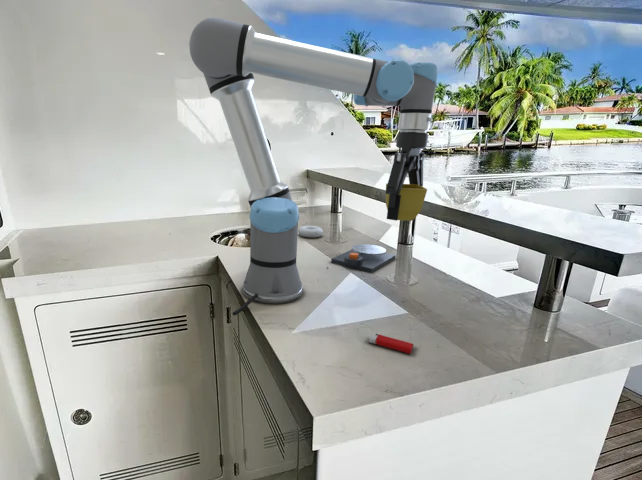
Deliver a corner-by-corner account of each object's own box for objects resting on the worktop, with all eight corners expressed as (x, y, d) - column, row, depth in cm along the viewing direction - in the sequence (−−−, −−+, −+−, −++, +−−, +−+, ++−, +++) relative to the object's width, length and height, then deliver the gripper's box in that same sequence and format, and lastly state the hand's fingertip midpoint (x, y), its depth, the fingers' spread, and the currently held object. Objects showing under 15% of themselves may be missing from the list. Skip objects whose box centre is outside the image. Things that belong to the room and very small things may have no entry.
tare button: (355, 260, 116) (355, 255, 116) (347, 258, 118) (348, 253, 117) (359, 258, 118) (359, 253, 117) (351, 256, 120) (352, 252, 119)
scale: (369, 274, 113) (370, 264, 112) (328, 263, 121) (329, 254, 120) (395, 259, 127) (396, 250, 126) (357, 250, 135) (358, 242, 134)
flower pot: (422, 223, 100) (428, 188, 97) (389, 222, 100) (393, 187, 97) (412, 216, 108) (417, 184, 105) (381, 215, 108) (385, 183, 105)
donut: (308, 231, 160) (292, 235, 153) (308, 223, 159) (293, 226, 152) (327, 236, 154) (312, 240, 147) (328, 227, 153) (313, 231, 146)
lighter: (410, 349, 71) (368, 337, 75) (409, 355, 71) (368, 343, 75) (413, 342, 73) (372, 331, 77) (412, 348, 74) (372, 337, 77)
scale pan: (377, 257, 118) (377, 256, 118) (345, 250, 125) (345, 248, 124) (391, 250, 126) (391, 248, 126) (361, 243, 133) (361, 242, 133)
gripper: (409, 131, 86) (396, 225, 93) (443, 132, 103) (430, 212, 110) (378, 130, 90) (368, 220, 97) (416, 132, 107) (405, 208, 114)
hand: (401, 216), depth 104 cm, fingers closed on flower pot, 11 cm apart
